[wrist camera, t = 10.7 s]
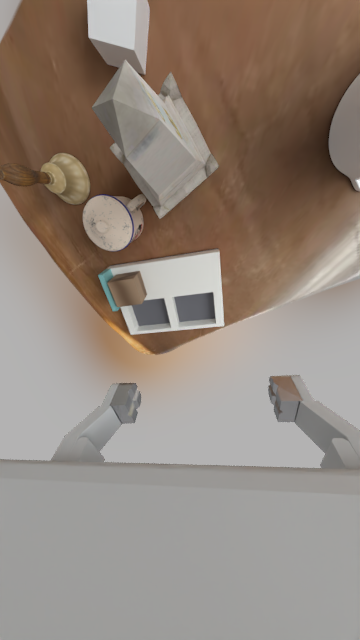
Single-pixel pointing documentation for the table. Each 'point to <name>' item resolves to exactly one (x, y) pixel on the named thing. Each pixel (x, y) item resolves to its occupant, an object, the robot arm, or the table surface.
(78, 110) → the table surface
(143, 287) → the walnut block
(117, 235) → the teacup with lid
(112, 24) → the white cube
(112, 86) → the miniature monument
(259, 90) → the table surface
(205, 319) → the board
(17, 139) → the table surface
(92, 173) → the table surface
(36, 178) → the hand bell
